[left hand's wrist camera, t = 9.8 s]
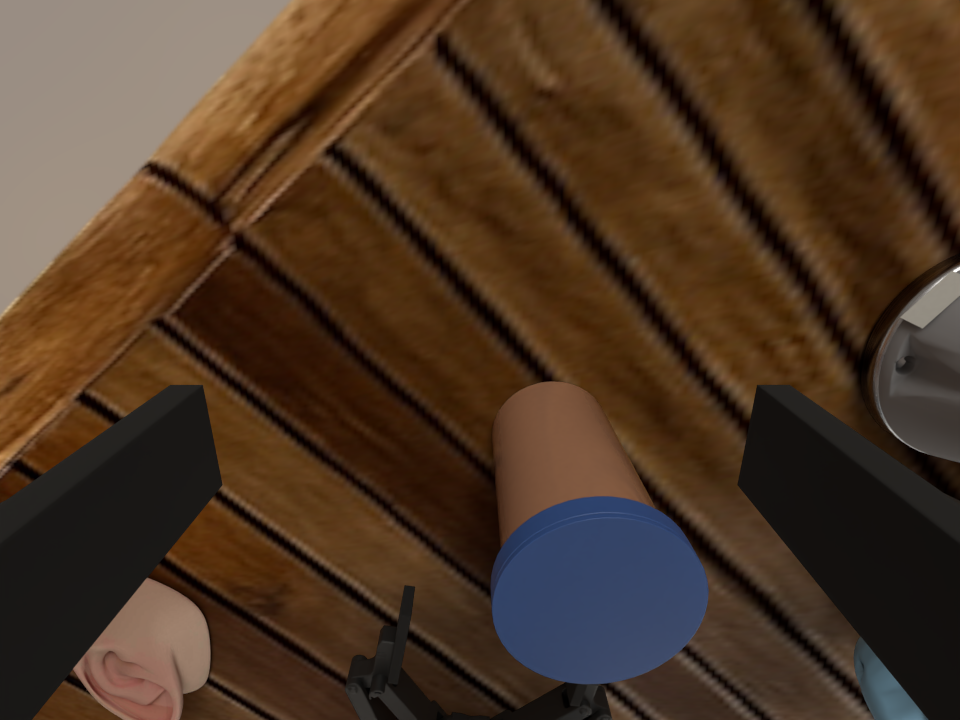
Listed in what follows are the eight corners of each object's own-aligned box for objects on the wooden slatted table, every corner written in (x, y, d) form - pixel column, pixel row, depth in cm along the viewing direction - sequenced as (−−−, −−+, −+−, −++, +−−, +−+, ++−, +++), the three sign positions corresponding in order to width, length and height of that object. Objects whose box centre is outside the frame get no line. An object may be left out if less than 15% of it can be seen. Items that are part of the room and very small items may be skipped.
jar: (468, 447, 40) (468, 618, 25) (538, 359, 37) (584, 490, 22) (559, 501, 41) (608, 691, 27) (631, 421, 39) (730, 580, 24)
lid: (450, 602, 26) (449, 629, 24) (577, 458, 23) (584, 478, 22) (604, 682, 28) (612, 711, 27) (737, 559, 25) (754, 584, 24)
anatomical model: (43, 598, 39) (202, 631, 40) (81, 559, 42) (225, 591, 44) (38, 717, 43) (182, 744, 45) (73, 673, 47) (204, 699, 48)
